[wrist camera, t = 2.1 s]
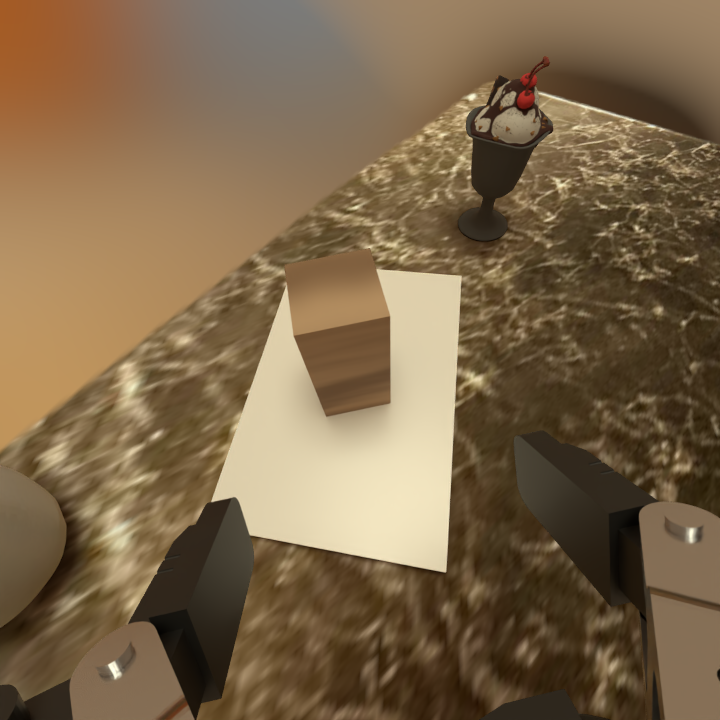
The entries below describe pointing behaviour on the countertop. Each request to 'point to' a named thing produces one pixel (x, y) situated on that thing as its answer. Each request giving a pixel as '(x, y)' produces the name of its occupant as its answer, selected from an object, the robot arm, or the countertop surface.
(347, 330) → the walnut block
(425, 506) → the cream sheet of paper
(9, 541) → the glass bottle
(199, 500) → the countertop surface
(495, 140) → the sundae
